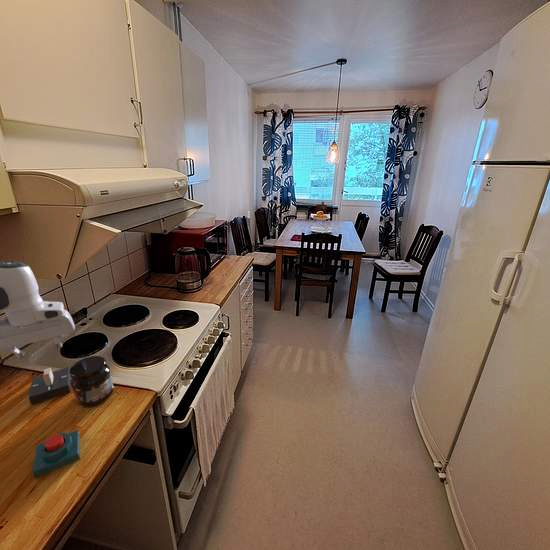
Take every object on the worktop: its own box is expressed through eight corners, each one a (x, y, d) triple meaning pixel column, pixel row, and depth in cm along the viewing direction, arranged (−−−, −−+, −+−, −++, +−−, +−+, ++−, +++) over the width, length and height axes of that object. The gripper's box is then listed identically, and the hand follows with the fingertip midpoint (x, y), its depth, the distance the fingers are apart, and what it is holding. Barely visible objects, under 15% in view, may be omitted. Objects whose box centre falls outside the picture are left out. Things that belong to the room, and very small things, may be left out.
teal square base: (35, 478, 68) (30, 467, 66) (38, 451, 74) (34, 440, 72) (80, 459, 72) (76, 448, 71) (80, 435, 78) (76, 424, 77)
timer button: (45, 454, 69) (43, 449, 69) (47, 443, 72) (45, 438, 71) (63, 447, 71) (62, 442, 71) (64, 436, 74) (62, 431, 73)
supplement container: (81, 387, 94) (72, 358, 90) (116, 380, 98) (109, 351, 93) (72, 412, 85) (62, 381, 81) (112, 403, 89) (104, 372, 84)
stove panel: (31, 404, 88) (28, 397, 86) (35, 384, 95) (32, 377, 94) (70, 392, 93) (67, 384, 91) (70, 373, 100) (68, 366, 99)
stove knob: (47, 377, 94) (44, 368, 93) (53, 375, 95) (50, 366, 94) (46, 386, 91) (42, 377, 89) (52, 384, 91) (49, 375, 90)
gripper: (-24, 328, 77) (-6, 369, 82) (67, 309, 87) (79, 346, 92) (-18, 318, 82) (-1, 357, 87) (68, 301, 92) (78, 337, 97)
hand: (41, 351), depth 90 cm, fingers open, 8 cm apart
